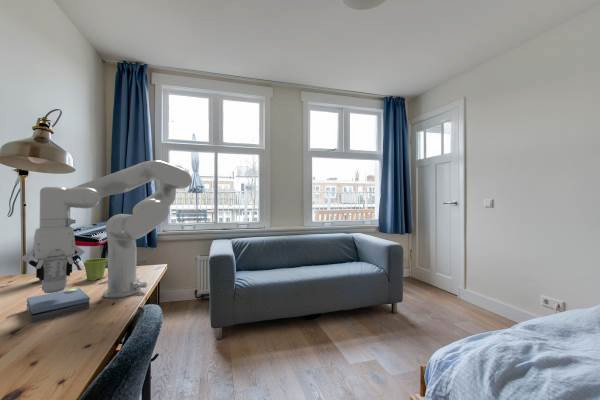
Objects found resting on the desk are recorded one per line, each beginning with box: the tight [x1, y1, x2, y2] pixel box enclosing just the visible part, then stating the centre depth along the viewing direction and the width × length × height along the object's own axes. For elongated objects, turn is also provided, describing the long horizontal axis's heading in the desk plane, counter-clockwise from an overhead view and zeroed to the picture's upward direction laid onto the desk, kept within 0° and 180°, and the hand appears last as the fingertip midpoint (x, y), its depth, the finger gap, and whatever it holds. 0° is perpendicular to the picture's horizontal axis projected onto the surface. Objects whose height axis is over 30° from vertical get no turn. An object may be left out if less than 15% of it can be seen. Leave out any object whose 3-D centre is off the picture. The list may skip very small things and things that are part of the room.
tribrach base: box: [26, 301, 90, 323], centre depth 90 cm, size 14×14×2 cm
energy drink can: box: [41, 249, 68, 294], centre depth 88 cm, size 6×6×15 cm
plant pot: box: [82, 257, 108, 281], centre depth 124 cm, size 9×9×9 cm
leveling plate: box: [26, 288, 91, 314], centre depth 90 cm, size 14×14×2 cm
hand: (54, 276), depth 88 cm, fingers closed on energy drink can, 6 cm apart
